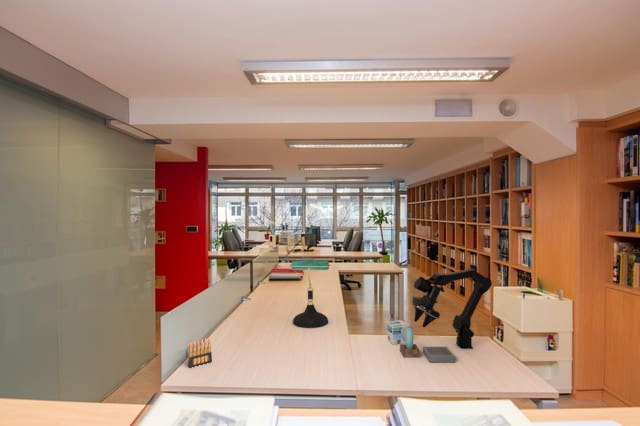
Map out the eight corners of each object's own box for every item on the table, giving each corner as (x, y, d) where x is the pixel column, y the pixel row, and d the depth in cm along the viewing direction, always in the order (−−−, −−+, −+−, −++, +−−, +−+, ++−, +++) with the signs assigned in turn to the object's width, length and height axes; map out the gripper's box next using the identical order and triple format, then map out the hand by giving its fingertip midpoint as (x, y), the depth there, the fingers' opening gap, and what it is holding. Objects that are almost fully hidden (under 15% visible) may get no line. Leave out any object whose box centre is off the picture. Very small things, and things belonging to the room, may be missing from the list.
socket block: (415, 350, 179) (415, 344, 179) (419, 357, 171) (419, 350, 171) (400, 351, 179) (399, 344, 179) (403, 357, 171) (403, 350, 171)
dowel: (412, 352, 176) (412, 327, 176) (414, 355, 173) (413, 329, 173) (405, 352, 176) (405, 327, 176) (407, 355, 173) (406, 329, 173)
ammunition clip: (210, 361, 169) (210, 336, 169) (212, 362, 167) (211, 337, 167) (188, 367, 162) (187, 341, 162) (189, 368, 161) (189, 342, 161)
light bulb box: (392, 345, 187) (392, 324, 187) (387, 340, 193) (386, 321, 193) (410, 342, 190) (410, 323, 190) (404, 338, 196) (404, 319, 196)
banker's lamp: (332, 317, 237) (331, 258, 237) (329, 328, 214) (329, 263, 214) (293, 316, 239) (292, 258, 239) (287, 327, 217) (286, 263, 217)
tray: (446, 352, 176) (446, 346, 176) (455, 362, 164) (455, 356, 164) (422, 352, 176) (422, 346, 176) (429, 362, 164) (429, 356, 164)
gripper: (410, 286, 189) (398, 312, 188) (427, 294, 170) (413, 323, 169) (427, 294, 190) (416, 321, 189) (446, 303, 172) (433, 332, 171)
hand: (419, 324), depth 180 cm, fingers open, 9 cm apart
